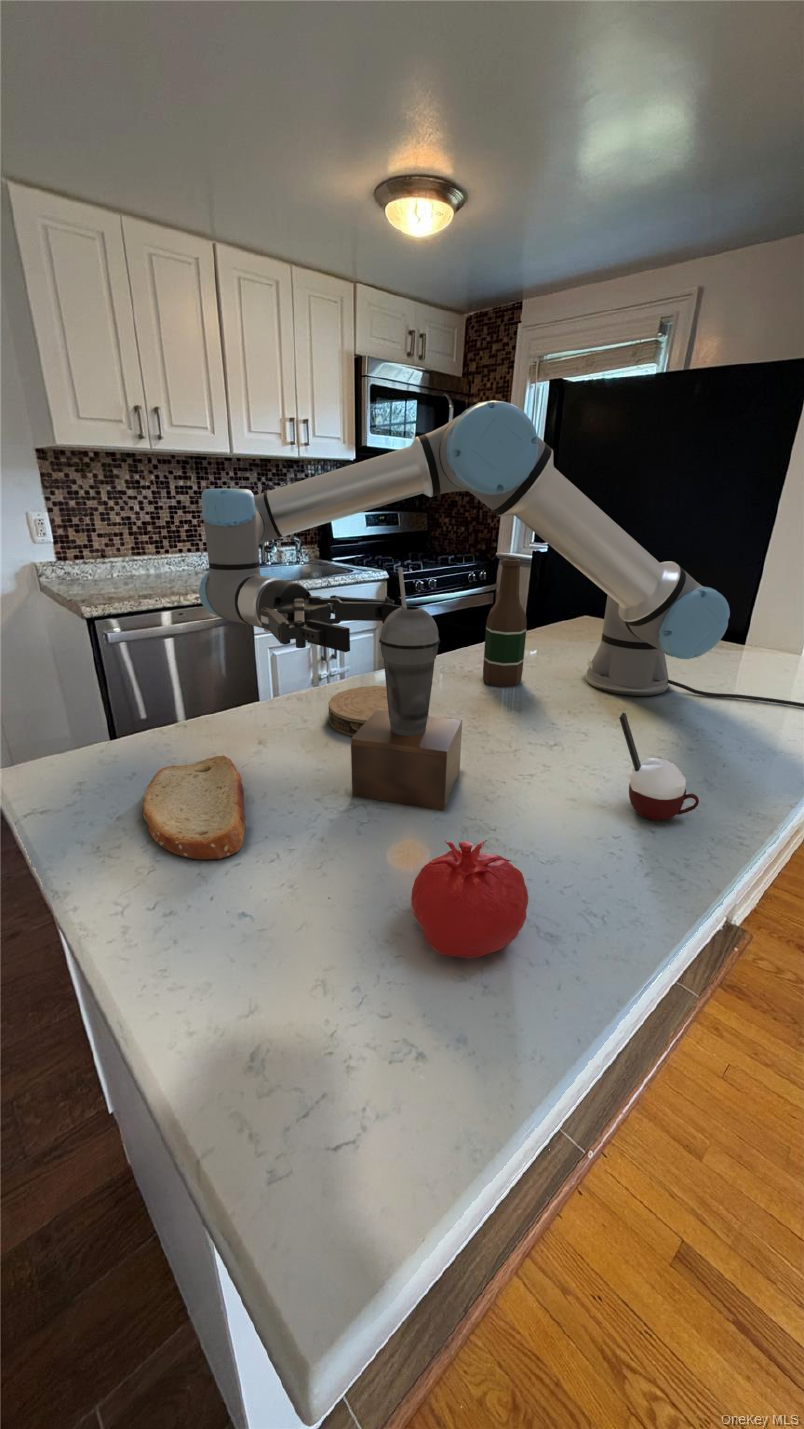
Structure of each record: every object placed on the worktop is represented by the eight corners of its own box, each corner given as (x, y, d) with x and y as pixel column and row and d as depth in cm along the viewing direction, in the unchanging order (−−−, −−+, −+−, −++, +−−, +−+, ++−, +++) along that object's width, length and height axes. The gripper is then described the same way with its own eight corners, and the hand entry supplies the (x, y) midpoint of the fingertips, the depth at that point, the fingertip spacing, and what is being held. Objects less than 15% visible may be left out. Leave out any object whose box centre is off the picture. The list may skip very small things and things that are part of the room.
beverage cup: (432, 743, 68) (437, 573, 60) (373, 737, 69) (371, 571, 62) (440, 720, 75) (446, 564, 67) (386, 715, 76) (386, 562, 68)
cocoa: (699, 820, 68) (722, 728, 63) (672, 838, 64) (694, 742, 59) (628, 788, 74) (643, 703, 70) (599, 803, 71) (614, 714, 66)
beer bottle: (481, 686, 111) (490, 560, 102) (483, 673, 118) (491, 555, 109) (521, 688, 110) (534, 562, 101) (520, 676, 117) (532, 556, 108)
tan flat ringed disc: (390, 746, 85) (390, 728, 84) (309, 724, 93) (308, 707, 92) (440, 713, 98) (441, 697, 97) (365, 695, 106) (364, 680, 104)
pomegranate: (537, 971, 46) (550, 879, 43) (416, 978, 46) (418, 884, 42) (507, 890, 56) (515, 809, 52) (405, 895, 55) (407, 813, 51)
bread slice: (221, 868, 58) (217, 838, 57) (88, 832, 64) (81, 803, 62) (307, 787, 74) (305, 761, 72) (193, 764, 80) (190, 740, 78)
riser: (459, 773, 78) (462, 719, 75) (444, 810, 69) (447, 751, 66) (376, 761, 81) (376, 709, 78) (352, 795, 72) (350, 738, 69)
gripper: (340, 617, 92) (445, 640, 80) (203, 648, 75) (311, 683, 62) (338, 570, 90) (447, 586, 77) (196, 590, 72) (308, 615, 59)
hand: (387, 629), depth 70 cm, fingers open, 13 cm apart
